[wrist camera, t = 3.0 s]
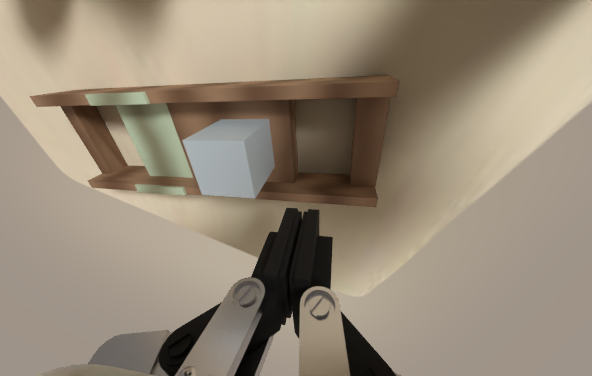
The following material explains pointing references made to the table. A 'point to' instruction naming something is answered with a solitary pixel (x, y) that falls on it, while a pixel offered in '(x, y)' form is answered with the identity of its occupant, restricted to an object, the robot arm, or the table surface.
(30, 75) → the table surface
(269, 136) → the block
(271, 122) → the box
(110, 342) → the robot arm
